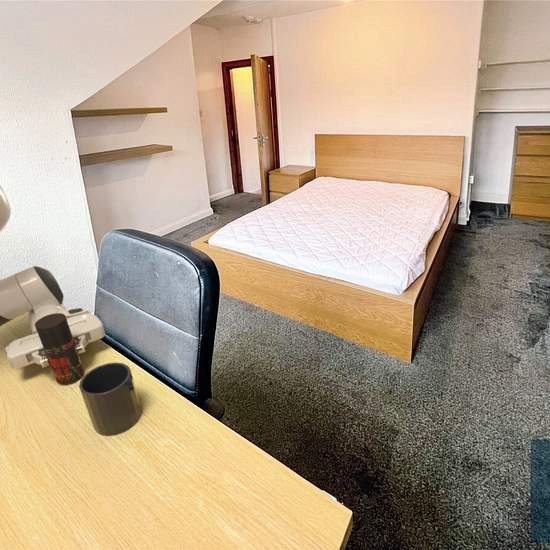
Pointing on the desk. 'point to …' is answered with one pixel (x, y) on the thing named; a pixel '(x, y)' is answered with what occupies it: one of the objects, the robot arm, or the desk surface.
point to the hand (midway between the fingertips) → (63, 357)
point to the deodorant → (60, 348)
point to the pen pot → (111, 398)
